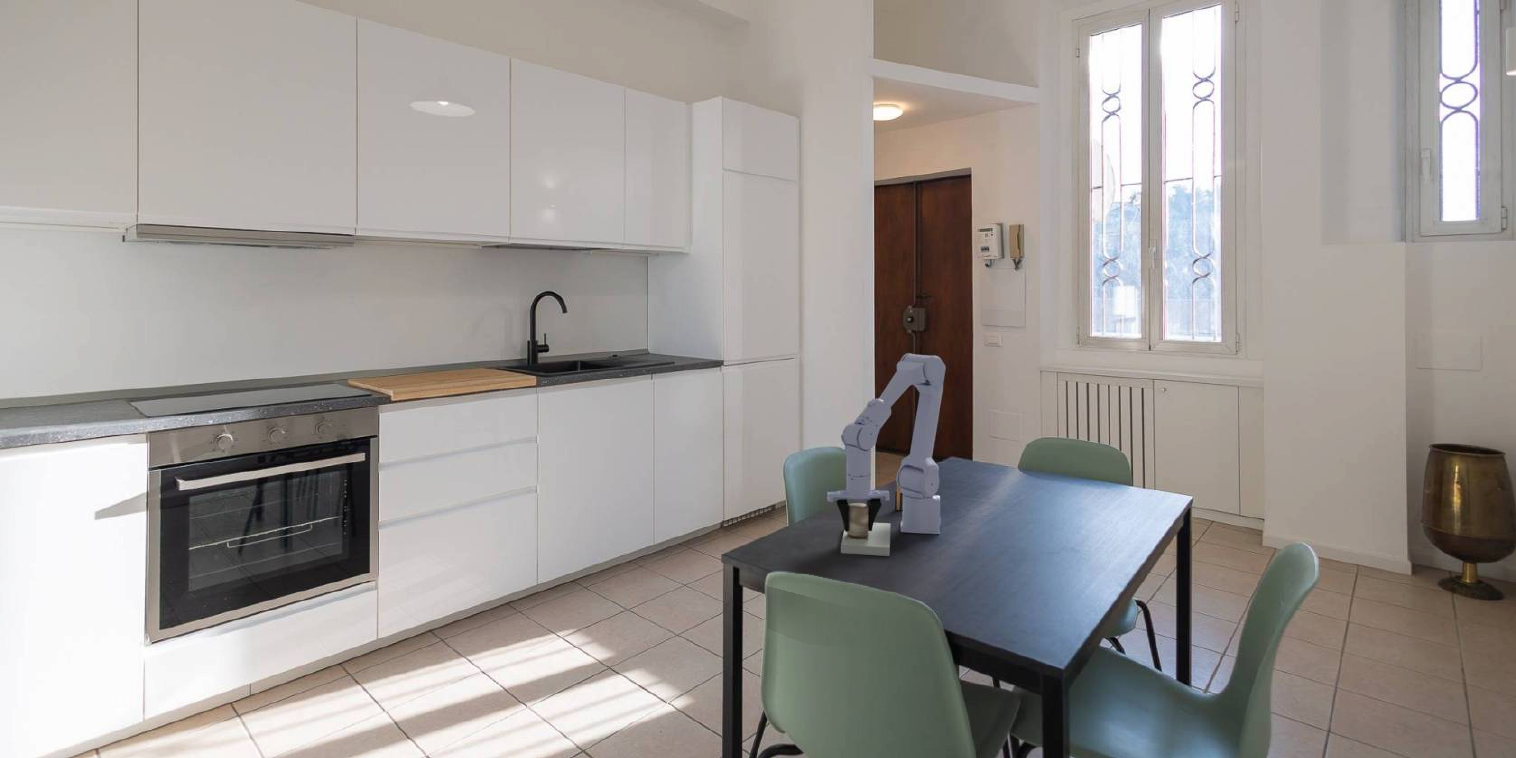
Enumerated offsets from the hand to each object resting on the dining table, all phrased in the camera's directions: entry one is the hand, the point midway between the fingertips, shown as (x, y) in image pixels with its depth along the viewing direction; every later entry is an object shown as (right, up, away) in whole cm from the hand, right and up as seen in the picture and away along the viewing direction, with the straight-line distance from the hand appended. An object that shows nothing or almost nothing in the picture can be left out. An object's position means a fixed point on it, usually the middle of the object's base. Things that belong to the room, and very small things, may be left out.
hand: (858, 530), depth 178 cm
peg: (0, -3, 0) cm, 3 cm away
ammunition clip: (+18, 0, +31) cm, 36 cm away
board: (+2, -3, +2) cm, 4 cm away
